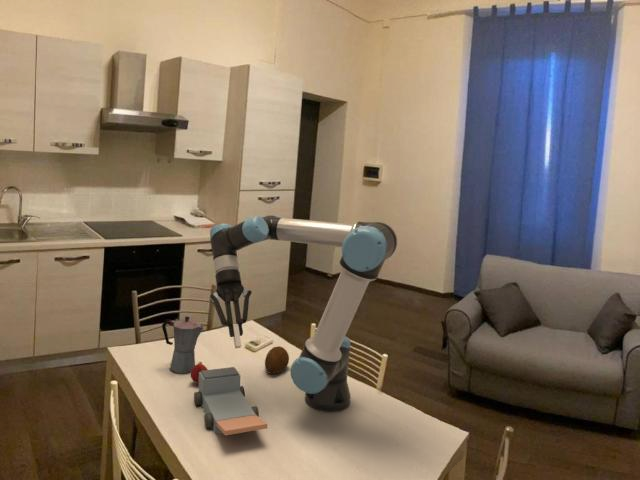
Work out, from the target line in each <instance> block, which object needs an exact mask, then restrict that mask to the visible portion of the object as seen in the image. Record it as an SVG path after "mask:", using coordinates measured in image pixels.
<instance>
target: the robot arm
mask: <svg viewBox="0 0 640 480" xmlns="http://www.w3.org/2000/svg"><path fill="white" fill-rule="evenodd" d="M209 238H210V239H209V242H210V246H211V247H210V248H211V251H212V252H211V253H212V257H213V258H212V260H213V267H214V269H213V270H214V274H215V282H216V290H215V292H214V293H211V294H210V296H209V300H210V302H211V303H212V304H213V306H214V308H215V310H216V314H217V315H218V319H219V321H220V323H221V325H222V326H224V327H226V326H227V328H228V332H229V337H230V338H233V343H234V349H240V348H241V347H242V341H241V336H243V335H244V330H243V325H244V324H246V322H247V320H248V315H249V304H250V303H249V301H250V296H251V295H252V293H253V292H252V290H250V289H249V290H247V289H245V287H244V286H243V284H242V279H241V271H240V266H239V260H238V253H237V251H239V250H242V249H244V248H247V247H250V246H251V245H253V244H256V243H260V242H264V241H267V240H268V241H269V240H272V241H283V242H291V243H292V242H293V243H299V244H307V245H315V246H316V245H317V246H327V247H335V248H341V254H342V255H341V257H340V260H339V262H338V265H339V266H340V268H341V271H340V273H339V276H338V279H337V280H336V282H335V285H334V287H333V290H332V293H331V294H330V297H329V299H328V302H327V304H326V307H325V308H324V312H323V314H322V316H321V318H320V321H319V323H318V325H317V328H316V331H315V332H314V334H313V336H312V337H310V338H307V340H306V341H305V343H304V346H303V348H302V350H301V352H300V354H299V356H298V357H297V358H296V359H295V360H294V361H293V362H292V364H291V367H290V370H289V371H290V373H289V374H290V377H291V380H292V382H293V384H294V385H295V386H296V388H297V389H299V391H302V392H303V393H305V394H304V401H305V403H306V404H307V405H308V406H309V407H311V408H312V409H315V410H318V411H323V412H329V413H330V412H339V411H343V410H346V409H348V408H349V406H350V404H351V399H352V398H351V392H350V387H349V384H348V372H349V371H348V370H349V363H350V362H349V360H350V352H351V351H350V350H351V339H350V338H349V337H348V336H346V335H347V332H348V330H349V328H350V326H351V324H352V322H353V319H354V317H355V315H356V313H357V311H358V308H359V306H360V304H361V302H362V300H363V298H364V295H365V293H366V290H367V288H368V286H369V283H370V282H373V281H376V280H377V278H378V277H379V274H380V272H381V269H382V268H383V266H384V263H385V261H386V260H388V259H389V258H391V257H392V256H393V254H394V253H395V252H396V249H397V247H398V246H397V245H398V238H397V234H396V232H395V231H394V229H393V228H392V227H391V226H390V225H389V224H387V223H384V222H381V221H367V222H366V221H356V222H355V223H352V224H351V223H342V222H333V221H332V222H331V221H320V220H311V219H301V218H300V219H299V218H287V217H279V216H278V215H273V214H272V215H265V216H262V217H261V216H259V215H255V216H253V217H250V218H247V219H245V220H244V221H242V222H239V223H238V224H235V225H233V226H232V225H231V224H229V223H219V224H216V225H214V226H212V227H211V228H210V231H209ZM241 296H243V298H244V300H243V306H242V309H243V310H242V315H241V310H240V309H241V308H240V302H239V299H240V298H241ZM219 298H220V299H221V300H222V301H223V302H224V307H225V314H226V316H225V314H224V310H223V308H222V305H221V303H220V301H219ZM231 302H232V304H233V310H234V316H235V323H236V324H234V321H233V313H232V305H231Z"/></svg>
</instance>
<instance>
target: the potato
mask: <svg viewBox="0 0 640 480" xmlns="http://www.w3.org/2000/svg"><path fill="white" fill-rule="evenodd" d="M289 361H290V355H289V353H288V350H287V349H286V348H284V347H283V346H274V347H272V348H271V349H270V350H269V351H268V352H267V354H266V356H265V360H264V367H265V370H266V371H267V373H268V374H271V375H276V374H278V373H279V372H281V371H284V370H285V369H287V367H288V364H289V363H290V362H289Z"/></svg>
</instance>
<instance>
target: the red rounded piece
mask: <svg viewBox="0 0 640 480" xmlns="http://www.w3.org/2000/svg"><path fill="white" fill-rule="evenodd" d="M204 370H208V368H207V367H206V366H205V365H204V364H203V362H202V361H198V363H197V364H195V366H194V367H193V368H192V370H191V373H189V374H190V378H191V380H192V381H193V382H194V383H195V384H197V385H199V372H201V371H204Z"/></svg>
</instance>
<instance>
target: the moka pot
mask: <svg viewBox="0 0 640 480" xmlns="http://www.w3.org/2000/svg"><path fill="white" fill-rule="evenodd" d="M167 325H168V326H171V327H173V339H174V340H173V342H172V341H170V339H169V336H168V331H167ZM161 328H162V331H163V335H164V339H165V343H166V344H167V345H169V346H172V345H174V347H173V348H174V349H173V354H172V358H171V362H170V370H171V371H172V372H173V373H176V374H191V370H192V368H193V367H194V366H195V365H196V358H195V356H196V354H195V353H196V352H195V349H196V346H197V341H198V338H199V337H200V335H201V333H202V331H204V330H205V327H204V326H203V325H202V324H200V322H199V321H197V320H194V319H190V316H184V319H179V320H174V319H173V320H171V319H167V318H166V320H165V321H164V322H163V323H162V324H161ZM173 343H174V344H173Z"/></svg>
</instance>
